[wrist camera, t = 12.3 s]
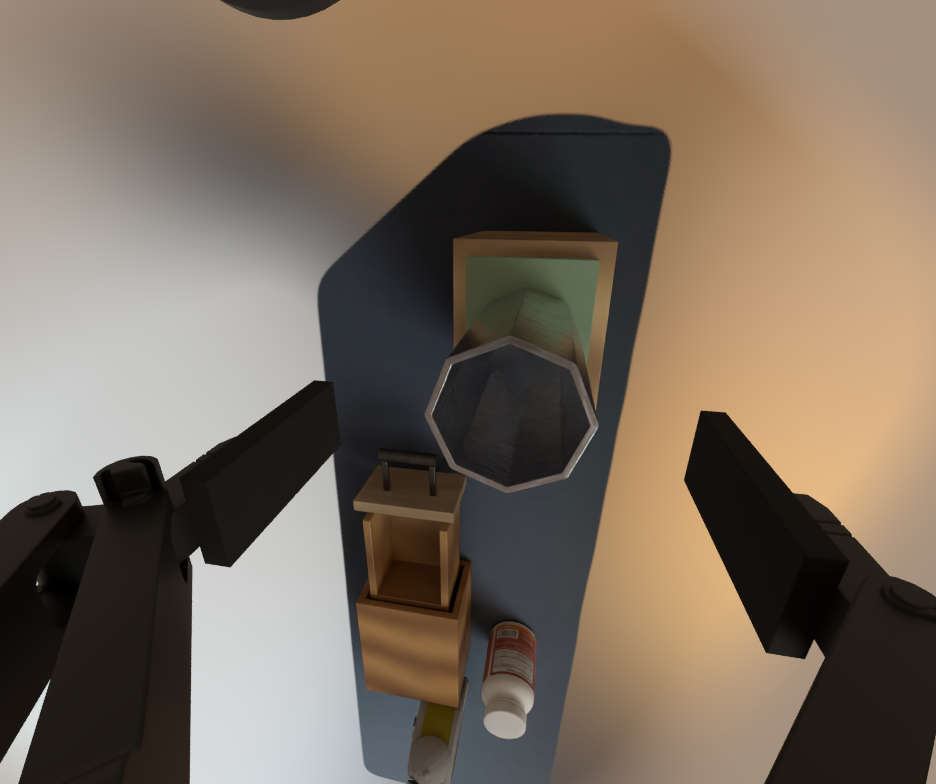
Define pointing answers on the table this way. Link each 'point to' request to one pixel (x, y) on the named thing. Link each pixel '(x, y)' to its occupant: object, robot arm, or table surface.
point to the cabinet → (417, 644)
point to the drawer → (412, 530)
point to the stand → (548, 247)
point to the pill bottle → (509, 679)
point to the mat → (534, 285)
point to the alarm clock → (436, 741)
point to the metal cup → (515, 395)
